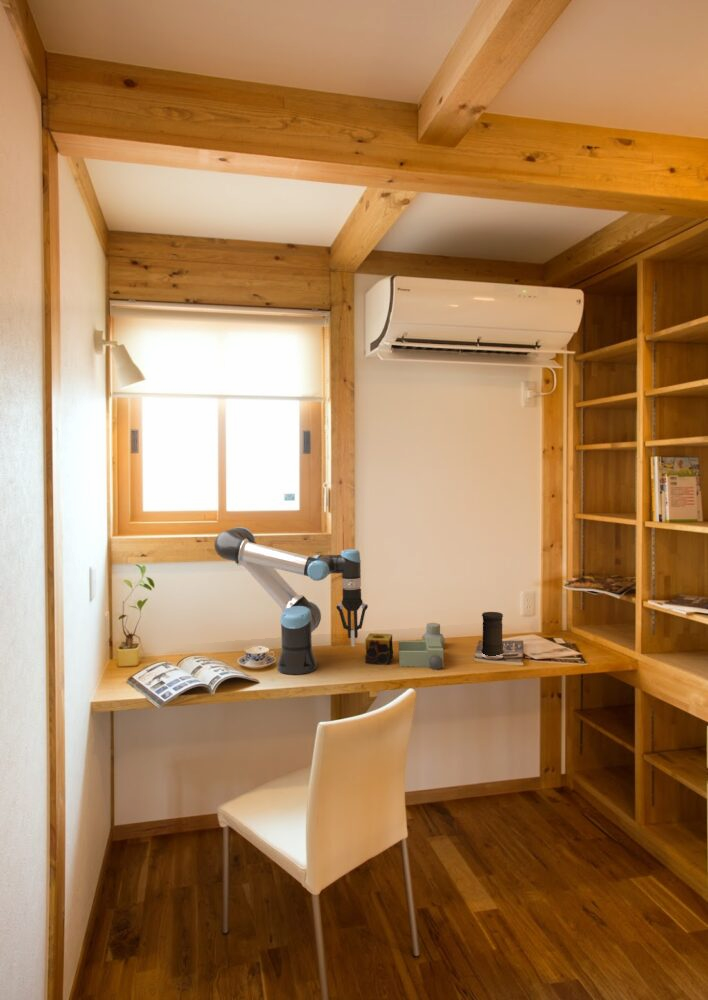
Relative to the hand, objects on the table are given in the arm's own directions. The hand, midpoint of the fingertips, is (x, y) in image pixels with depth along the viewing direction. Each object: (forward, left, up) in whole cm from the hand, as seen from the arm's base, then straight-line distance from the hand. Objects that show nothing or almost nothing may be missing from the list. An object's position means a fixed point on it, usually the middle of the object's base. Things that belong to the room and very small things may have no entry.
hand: (353, 645), depth 263 cm
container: (+57, +6, -6) cm, 57 cm away
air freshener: (+34, +20, -6) cm, 40 cm away
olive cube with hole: (+11, 0, -6) cm, 12 cm away
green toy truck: (+27, 0, -6) cm, 27 cm away
